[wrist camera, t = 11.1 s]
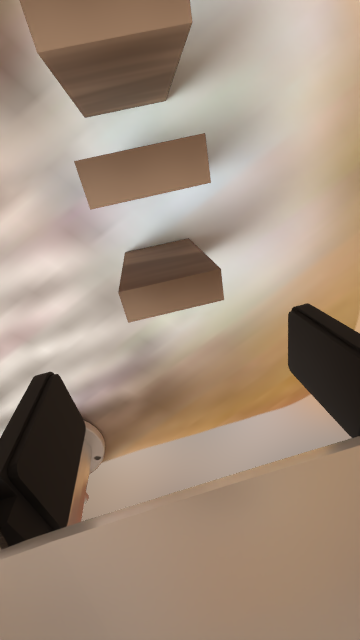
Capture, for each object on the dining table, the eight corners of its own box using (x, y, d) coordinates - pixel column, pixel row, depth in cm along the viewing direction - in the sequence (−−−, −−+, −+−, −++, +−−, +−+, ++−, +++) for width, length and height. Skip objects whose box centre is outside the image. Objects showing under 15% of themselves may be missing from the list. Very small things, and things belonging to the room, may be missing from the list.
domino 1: (165, 100, 18) (192, 22, 10) (84, 117, 18) (37, 52, 9) (159, 64, 17) (182, -60, 9) (73, 81, 17) (9, -29, 8)
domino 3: (192, 259, 24) (224, 299, 15) (131, 273, 24) (128, 322, 15) (188, 238, 23) (220, 268, 14) (125, 252, 23) (118, 292, 14)
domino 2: (179, 184, 21) (210, 182, 12) (109, 200, 21) (90, 209, 12) (175, 156, 20) (205, 133, 11) (101, 172, 20) (74, 161, 11)
